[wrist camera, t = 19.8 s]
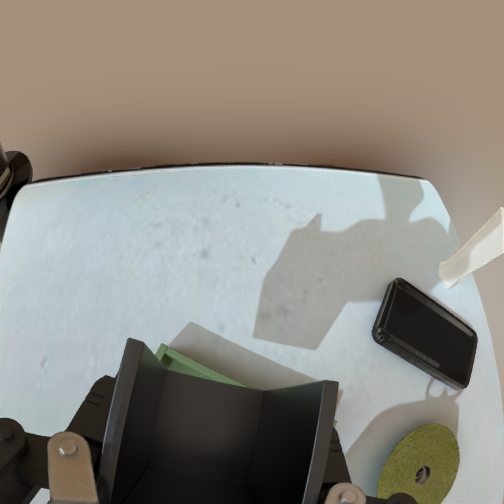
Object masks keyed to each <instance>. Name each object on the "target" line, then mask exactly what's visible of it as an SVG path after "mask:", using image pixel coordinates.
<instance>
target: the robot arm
mask: <svg viewBox="0 0 504 504" xmlns="http://www.w3.org/2000/svg"><path fill="white" fill-rule="evenodd" d="M14 177H15V171H14V168H13V166H12V164H11V163H10V162H9V160H8V158H7V156H6V154H5V152H4V149H3V147H2V145H1V143H0V201H1V200H2V199H3V198H4V197H5V196H6V194H7V193H8V191H9V190H10V188H11V186H12V184H13V181H14ZM118 373H119V371H118ZM118 373H117V375H116V377H115V378H113V377H110V376H107V375H105V376H104V377H102V378H100V379H99V380H97V381H96V382H95V383H94V385H93V387H92V388H91V390H90V392H89V393H88V395H87V396H86V398H85V401H83V403H82V404H81V406H80V408H79V409H78V411H77V413H76V414H75V416H74V418H73V419H72V421H71V423H70V424H69V426H68V428H67V429H66V430H65V431H64V432H59V433H56V434H54V435H53V436H52V437H46V436H40V435H36V434H31V433H27V432H25V431H24V429H23V427H22V426H21V425H20V424H19V423H18V422H17V421H15V420H13V419H10V418H0V504H29V503H30V502H31V501H32V499H33V498H34V497H35V495H36V494H37V493H38V491H39V490H40V489H41V488H45V489H50V501H48V503H47V504H100V501H99V496H98V491H97V486H96V482H97V475H98V469H99V462H100V456H101V451H102V445H103V440H104V434H105V429H106V424H107V420H108V415H109V410H110V406H111V401H112V397H113V393H114V389H115V384H116V380H117V376H118ZM318 504H418V503H417V501H416V500H415V499H414V498H413V497H412V496H411V495H409V494H407V493H401V492H400V493H395V494H393V495H391V496H390V497H389V498H388V499H383V498H376V497H370V496H366V495H365V494H364V492H363V491H362V490H361V489H360V488H359V487H358V486H356V485H354V484H352V482H351V479H350V475H349V472H348V468H347V465H346V461H345V458H344V454H343V452H342V447H341V444H340V440H339V437H338V433H337V431H336V429H335V428H334V427H333V429H332V435H331V441H330V447H329V452H328V458H327V463H326V468H325V473H324V478H323V483H322V487H321V492H320V496H319V501H318Z"/></svg>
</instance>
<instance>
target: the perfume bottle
mask: <svg viewBox="0 0 504 504" xmlns="http://www.w3.org/2000/svg"><path fill="white" fill-rule="evenodd" d="M503 253H504V208H503V207H500V208H499V209H498V211H497V212H496V213H495V214H494V215H493V216H492V217H491V218H490V219H489V220H488V221H487V222H486V223H485V224H484V225H483V226H482V227H481V228H480V229H479V230H478V231H477V233H475V234H474V235H473V236H472V237H471V238H470V239H469V240H468V241H467V242H466V243H465V244H464V245H463V246H462V247H461V248H460V249H459V250H458V251H457V252H456V253H455V254H453V255H452V256H451V257H450V258H449V259H447V260H444V261H441V262H440V263H439V268H438V273H437V275H438V277H439V278H440V279H441V281H442V282H443V283H444V285H445V286H446V287H447V288H448V289H449V288H451V287H452V286H454V285H456V284H457V283H458V281H459V280H460V279H461V278H463V277H464V276H466V275H468V274H470V273H471V272H473V271H475V270H477V269H478V268H480V267H482V266H483V265H485V264H487V263H488V262H490V261H492V260H493V259H495V258H497V257H498V256H500V255H501V254H503Z"/></svg>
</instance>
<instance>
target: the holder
mask: <svg viewBox="0 0 504 504" xmlns="http://www.w3.org/2000/svg"><path fill="white" fill-rule="evenodd" d="M338 385H339V382H337V381H329V380H323V381H318V382H313V383H308V384H302V385H297V386H291V387H285V388H279V389H272V390H260V389H254V388H248V387H243V386H238V385H233V384H228V383H223V382H218V381H214V380H209V379H205V378H201V377H196V376H192V375H188V374H184V373H181V372H177V371H173V370H169V369H167V368H166V367H165V366H164V365H163V364H162V363H161V361H160V360H159V359H158V358H157V357H156V356H155V355H154V353H153V352H152V351H151V350H150V349H149V348H148V346H147V345H146V344H145V343H144V342H142V341H139V340H135V339H132V338H128V339H127V343H126V346H125V350H124V354H123V357H122V361H121V365H120V369H119V373H118V376H117V380H116V384H115V389H114V393H113V397H112V401H111V406H110V410H109V415H108V420H107V424H106V429H105V434H104V440H103V445H102V451H101V456H100V462H99V469H98V475H97V482H96V486H97V491H98V496H99V501H100V504H318V501H319V496H320V492H321V487H322V483H323V478H324V473H325V468H326V463H327V458H328V452H329V447H330V441H331V435H332V429H333V422H334V416H335V409H336V401H337V394H338Z"/></svg>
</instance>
